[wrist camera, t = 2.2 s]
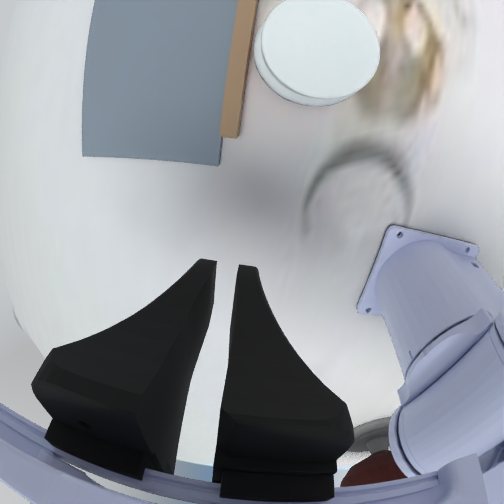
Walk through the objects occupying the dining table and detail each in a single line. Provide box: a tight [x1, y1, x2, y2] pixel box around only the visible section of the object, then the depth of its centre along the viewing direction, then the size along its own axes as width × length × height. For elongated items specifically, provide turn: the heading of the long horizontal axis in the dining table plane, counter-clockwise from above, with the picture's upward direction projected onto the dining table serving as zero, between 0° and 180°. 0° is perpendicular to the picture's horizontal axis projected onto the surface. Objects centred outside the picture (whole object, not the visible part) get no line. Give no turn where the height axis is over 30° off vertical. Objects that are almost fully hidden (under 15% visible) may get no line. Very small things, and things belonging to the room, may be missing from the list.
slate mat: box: [82, 0, 258, 166], centre depth 14 cm, size 11×14×1 cm
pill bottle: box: [254, 0, 380, 106], centre depth 11 cm, size 5×5×8 cm
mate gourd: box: [340, 417, 408, 487], centre depth 28 cm, size 16×14×20 cm
